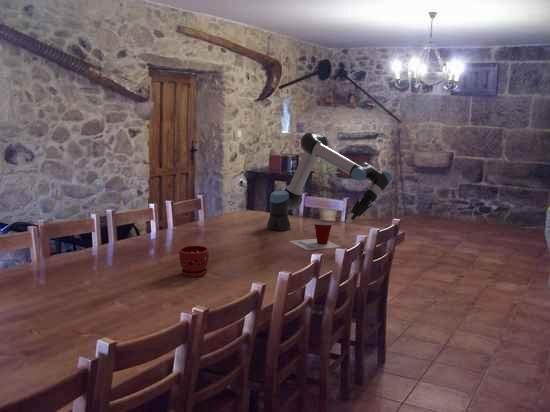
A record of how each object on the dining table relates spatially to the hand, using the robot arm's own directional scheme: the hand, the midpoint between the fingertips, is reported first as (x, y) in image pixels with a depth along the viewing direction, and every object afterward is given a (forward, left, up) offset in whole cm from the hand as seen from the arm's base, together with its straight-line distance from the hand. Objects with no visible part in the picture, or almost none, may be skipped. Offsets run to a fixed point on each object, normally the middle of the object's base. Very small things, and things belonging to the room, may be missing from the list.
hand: (347, 223), depth 331 cm
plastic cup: (-1, -16, -11) cm, 19 cm away
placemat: (-1, -21, -11) cm, 24 cm away
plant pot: (+32, -103, -11) cm, 108 cm away
